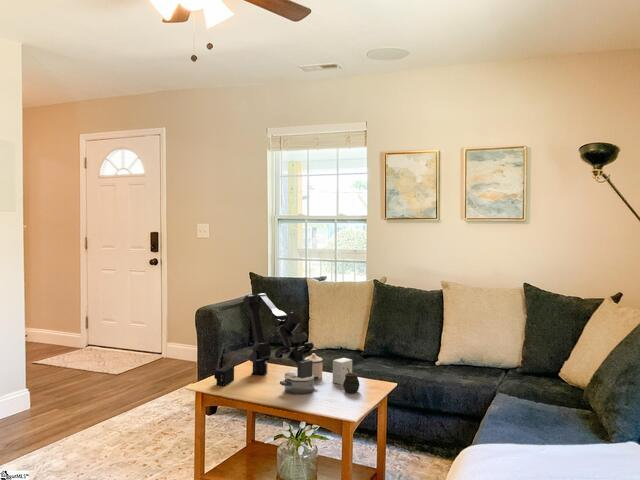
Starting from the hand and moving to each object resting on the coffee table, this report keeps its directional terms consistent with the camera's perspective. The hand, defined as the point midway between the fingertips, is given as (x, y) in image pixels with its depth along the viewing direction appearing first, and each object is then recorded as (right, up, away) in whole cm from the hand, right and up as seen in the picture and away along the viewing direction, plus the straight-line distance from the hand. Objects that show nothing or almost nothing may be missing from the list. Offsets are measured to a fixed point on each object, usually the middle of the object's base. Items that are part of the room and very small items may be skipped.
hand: (302, 366), depth 243 cm
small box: (+18, -11, +16) cm, 27 cm away
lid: (-1, -5, +2) cm, 6 cm away
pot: (-1, -11, +2) cm, 11 cm away
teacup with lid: (+3, -11, +23) cm, 25 cm away
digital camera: (-37, -11, +11) cm, 40 cm away
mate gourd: (+22, -12, +1) cm, 25 cm away
